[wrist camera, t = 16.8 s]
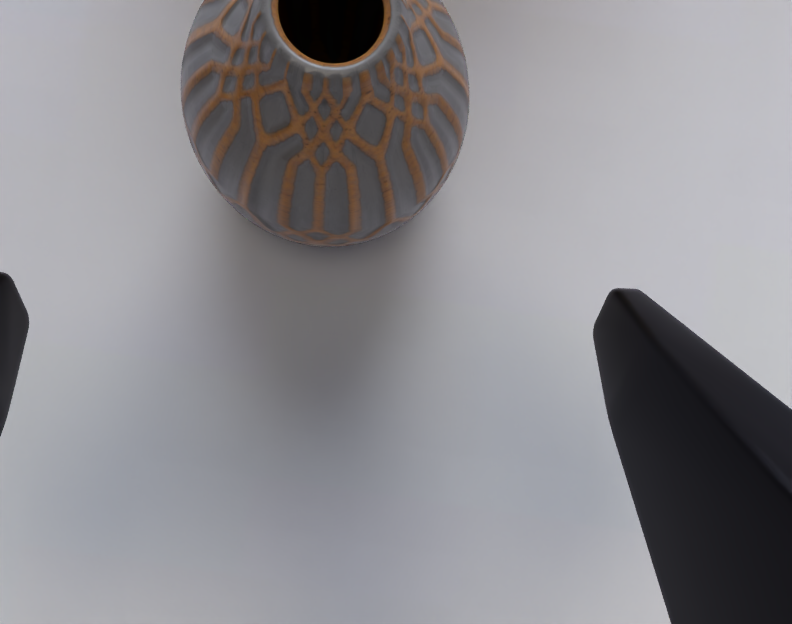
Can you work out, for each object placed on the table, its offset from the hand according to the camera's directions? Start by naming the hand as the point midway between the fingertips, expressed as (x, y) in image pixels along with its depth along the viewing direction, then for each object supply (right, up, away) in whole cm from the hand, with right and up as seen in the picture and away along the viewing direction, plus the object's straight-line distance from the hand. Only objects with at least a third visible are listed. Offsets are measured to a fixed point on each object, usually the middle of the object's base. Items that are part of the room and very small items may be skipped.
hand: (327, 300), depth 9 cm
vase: (-1, +5, +10) cm, 11 cm away
